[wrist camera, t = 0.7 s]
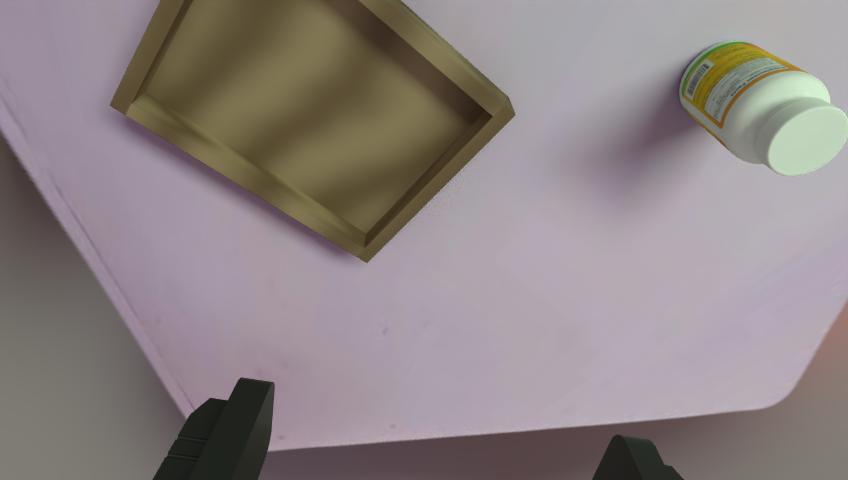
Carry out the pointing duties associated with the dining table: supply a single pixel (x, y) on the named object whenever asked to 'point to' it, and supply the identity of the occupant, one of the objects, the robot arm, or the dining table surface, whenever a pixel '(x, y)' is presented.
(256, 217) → the dining table surface
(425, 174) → the serving tray
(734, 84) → the supplement bottle
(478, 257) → the dining table surface
